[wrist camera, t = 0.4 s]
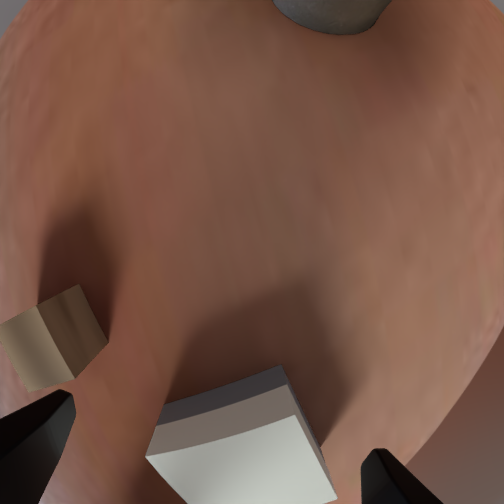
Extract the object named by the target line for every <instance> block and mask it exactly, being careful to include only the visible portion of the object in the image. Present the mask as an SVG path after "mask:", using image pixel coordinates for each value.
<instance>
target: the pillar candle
mask: <svg viewBox="0 0 504 504" xmlns="http://www.w3.org/2000/svg"><path fill="white" fill-rule="evenodd" d="M272 1H273V2H274V4H275V5H276V7H277V8H278V9H279V10H280V11H281V12H282V13H283V14H284V15H285V16H287V17H289V18H290V19H291V20H293V21H294V22H296V23H298V24H300V25H302V26H304V27H307V28H309V29H312V30H315V31H319V32H323V33H328V34H337V35H343V34H356V33H360V32H364V31H366V30H368V29H369V28H371V27H372V26H373V25H374V24H375V22H376V20H377V19H378V17H379V16H380V14H381V13H382V12H383V10H384V9H385V8H386V6H387V5H388V4H389V3H390V2H391V1H392V0H272Z"/></svg>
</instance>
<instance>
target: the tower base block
mask: <svg viewBox="0 0 504 504" xmlns="http://www.w3.org/2000/svg"><path fill="white" fill-rule="evenodd" d="M286 384H287V385H288V387H289V389H290V392H291V394H292V396H293V398H294V400H295V402H296V404H297V406H298V408H299V410H300V412H301V415H302V417H303V419H304V421H305V423H306V425H307V427H308V429H309V431H310V433H311V435H312V437H313V439H314V441H315V444H316V446H317V448H318V450H319V452H320V454H321V456H322V458H323V460H324V457H323V454H322V451H321V448H320V446H319V444H318V442H317V440H316V438H315V435H314V433H313V431H312V429H311V427H310V425H309V423H308V421H307V419H306V416H305V414H304V412H303V410H302V408H301V406H300V404H299V402H298V399H297V397H296V395H295V393H294V391H293V389H292V387H291V384H290V382H289V380H288V378H287V376H286V374H285V371H284V369H283V367H282V365H281V364H280V365H278V366H275V367H273V368H270V369H268V370H265V371H262V372H260V373H257V374H255V375H252V376H249V377H246V378H244V379H241V380H238V381H235V382H233V383H230V384H227V385H224V386H221V387H218V388H215V389H212V390H209V391H206V392H203V393H200V394H197V395H194V396H190V397H187V398H184V399H181V400H177V401H174V402H171V403H167V404H164V406H163V408H162V411H161V414H160V416H159V419H158V422H157V425H156V426H158V425H162V424H166V423H170V422H174V421H178V420H181V419H185V418H189V417H192V416H196V415H199V414H202V413H206V412H209V411H212V410H215V409H219V408H222V407H225V406H228V405H231V404H234V403H237V402H240V401H243V400H246V399H249V398H251V397H254V396H257V395H260V394H263V393H265V392H268V391H271V390H273V389H276V388H278V387H281V386H284V385H286ZM324 462H325V460H324ZM325 464H326V463H325Z"/></svg>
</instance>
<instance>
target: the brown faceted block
mask: <svg viewBox="0 0 504 504" xmlns="http://www.w3.org/2000/svg"><path fill="white" fill-rule="evenodd" d="M0 342H1V344H2V346H3V348H4V350H5V351H6V353H7V355H8V357H9V359H10V361H11V363H12V364H13V366H14V368H15V370H16V372H17V373H18V375H19V377H20V378H21V380H22V382H23V384H24V385H25V387H26V388H27V390H28V392H32V391H36V390H39V389H43V388H46V387H50V386H53V385H56V384H60V383H63V382H66V381H70V380H73V379H75V378H76V377H77V376H78V375H79V374H80V373H81V372H82V371H83V370H84V369H85V367H86V366H87V365H88V364H89V363H90V362H91V361H92V360H93V359H94V358H95V357H96V356H97V354H98V353H99V352H100V351H101V350H102V349H103V348H104V347H105V346H106V345H107V344H108V343H109V342H108V341H107V339H106V337H105V335H104V333H103V331H102V329H101V328H100V326H99V324H98V322H97V320H96V318H95V316H94V314H93V312H92V310H91V308H90V306H89V304H88V302H87V299H86V297H85V295H84V293H83V291H82V289H81V287H80V284H77V285H75V286H73V287H71V288H69V289H67V290H65V291H63V292H61V293H59V294H57V295H55V296H53V297H52V298H50V299H48V300H46V301H44V302H42V303H40V304H38V305H36V306H34V307H32V308H30V309H28V310H26V311H25V312H23V313H21V314H19V315H17V316H15V317H13V318H12V319H10V320H8V321H6V322H4V323H2V324H1V325H0Z"/></svg>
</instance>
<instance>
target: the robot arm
mask: <svg viewBox="0 0 504 504" xmlns="http://www.w3.org/2000/svg"><path fill="white" fill-rule="evenodd" d="M75 417H76V409H75V404H74V399H73V395H72V394H71V393H69V392H67V391H64V390H62V389H59V390H56V391H54V392H52V393H51V394H49V395H47V396H45V397H43V398H41V399H39V400H37V401H35V402H33V403H31V404H29V405H27V406H25V407H23V408H21V409H19V410H17V411H15V412H13V413H11V414H9V415H7V416H5V417H3V418H1V419H0V504H38V503H39V501H40V499H41V497H42V495H43V493H44V491H45V488H46V486H47V484H48V482H49V480H50V478H51V476H52V474H53V472H54V470H55V468H56V466H57V464H58V462H59V460H60V458H61V455H62V453H63V450H64V447H65V444H66V441H67V439H68V436H69V433H70V431H71V428H72V425H73V423H74V420H75ZM361 498H362V504H443V503H442V502H441V501H440V500H439V499H438V498H437V497H436V496H435V495H434V494H432V492H431V491H429V490H428V489H427V488H426V487H425V486H424V485H423V484H422V483H421V482H420V481H419V480H418V479H417V478H416V477H415V476H414V475H413V474H412V473H411V472H410V471H409V470H408V469H407V468H406V467H405V466H404V465H402V464H401V463H400V462H399V461H398V460H397V459H396V458H395V457H394V456H393V455H392V454H391V453H390V452H389V451H388V450H387V449H385V448H376V449H373V450H372V451H371V452H370V454H369V455H368V456H367V458H366V459H365V460H364V461H363V463H362V465H361Z"/></svg>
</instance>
